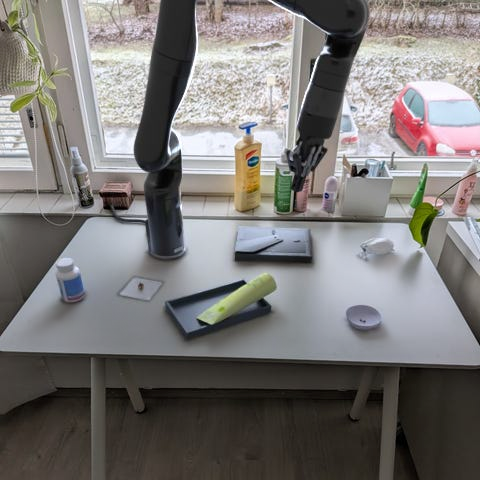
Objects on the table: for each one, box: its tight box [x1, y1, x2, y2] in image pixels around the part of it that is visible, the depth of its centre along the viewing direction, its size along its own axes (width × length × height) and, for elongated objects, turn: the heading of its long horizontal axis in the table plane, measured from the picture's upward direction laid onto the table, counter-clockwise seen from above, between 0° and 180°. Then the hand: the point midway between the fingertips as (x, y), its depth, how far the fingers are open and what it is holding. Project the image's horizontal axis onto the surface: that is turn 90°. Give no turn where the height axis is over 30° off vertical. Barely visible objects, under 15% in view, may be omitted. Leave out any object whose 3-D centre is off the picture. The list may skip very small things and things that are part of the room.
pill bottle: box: [55, 257, 86, 303], centre depth 119 cm, size 6×5×10 cm
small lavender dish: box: [345, 304, 383, 331], centre depth 114 cm, size 8×8×2 cm
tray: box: [164, 277, 272, 340], centre depth 117 cm, size 21×13×2 cm, turn 118°
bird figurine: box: [358, 237, 396, 261], centre depth 136 cm, size 5×7×10 cm
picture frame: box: [234, 225, 313, 264], centre depth 140 cm, size 16×3×21 cm
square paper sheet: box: [118, 277, 163, 301], centre depth 124 cm, size 8×8×2 cm
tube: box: [197, 272, 278, 325], centre depth 115 cm, size 6×5×20 cm
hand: (295, 190), depth 110 cm, fingers closed
